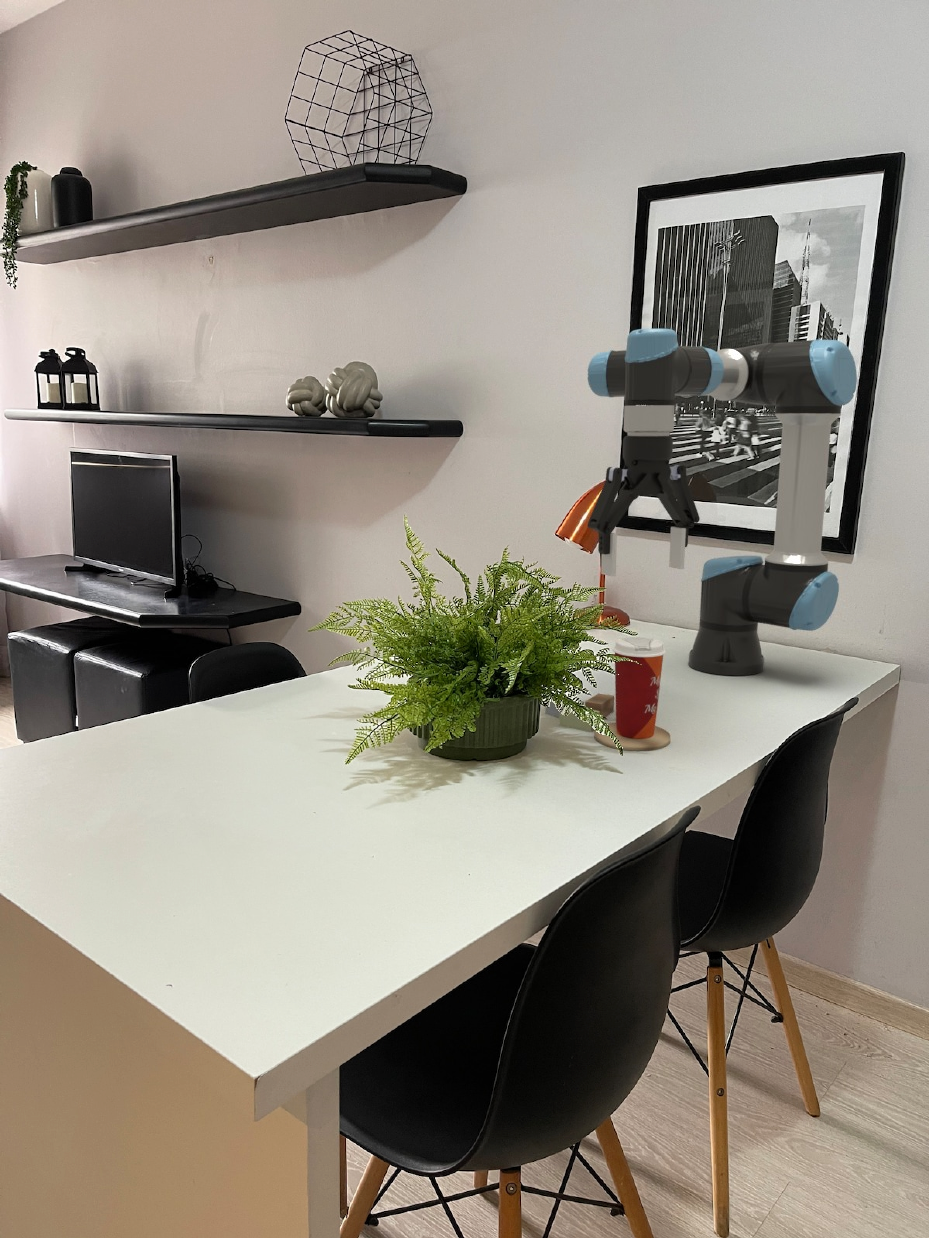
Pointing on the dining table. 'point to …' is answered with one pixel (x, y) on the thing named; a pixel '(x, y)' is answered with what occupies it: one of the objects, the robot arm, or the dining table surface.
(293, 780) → the dining table surface
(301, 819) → the dining table surface
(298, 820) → the dining table surface
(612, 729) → the disc
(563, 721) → the olive block
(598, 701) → the walnut block
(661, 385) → the robot arm
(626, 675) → the coffee cup
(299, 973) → the dining table surface
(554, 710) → the slate block
